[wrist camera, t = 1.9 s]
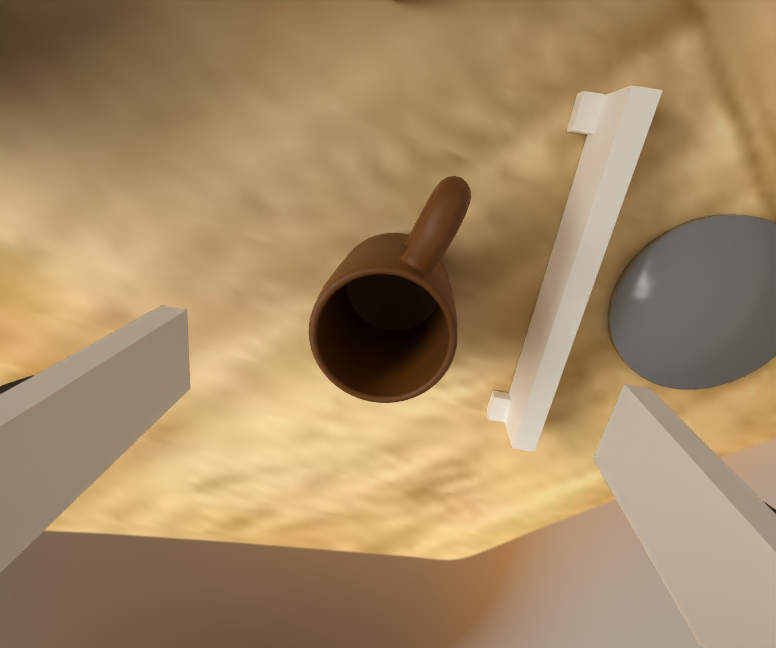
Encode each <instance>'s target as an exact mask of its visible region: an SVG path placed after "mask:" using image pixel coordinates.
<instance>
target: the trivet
mask: <svg viewBox="0 0 776 648" xmlns="http://www.w3.org/2000/svg"><path fill="white" fill-rule="evenodd" d="M608 327H609V334H610V337H611V340H612V343H613V345H614V347H615V349H616V351H617V353H618V354H619V356H620V357H621V358H622V360H623V361H624V362H625V363H626V364H627V365H628V366H629V367H630V368H631V369H632V370H633V371H634V372H636V373H637V374H639V375H640V376H641V377H643V378H645V379H647V380H648V381H650V382H653V383H655V384H658V385H661V386H665V387H669V388H675V389H704V388H710V387H715V386H720V385H723V384H726V383H729V382H732V381H735V380H737V379H739V378H742V377H744V376H746V375H748V374H750V373H752V372H753V371H755V370H757V369H758V368H760V367H761V366H763V365H764V364H766V363H767V362H769V361H770V360H771V359H772V358H774V357H775V356H776V223H773V222H771V221H768V220H765V219H761V218H757V217H752V216H746V215H736V214H720V215H712V216H706V217H701V218H698V219H694V220H691V221H688V222H686V223H683V224H681V225H678V226H676V227H674V228H672V229H670V230H668V231H667V232H665V233H663V234H662V235H660V236H659V237H657V238H656V239H654V240H653V241H652V242H650V243H649V244H648V245H647V246H646V247H644V248H643V249H642V250H641V251H640V252H639V253H638V254H637V255H636V256H635V257H634V258H633V259H632V261H631V262H630V263H629V264H628V266H627V267H626V268H625V270H624V271H623V273H622V275H621V276H620V278H619V280H618V282H617V284H616V286H615V288H614V290H613V293H612V297H611V300H610V304H609V310H608Z"/></svg>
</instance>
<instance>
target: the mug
mask: <svg viewBox="0 0 776 648" xmlns="http://www.w3.org/2000/svg"><path fill="white" fill-rule="evenodd" d="M470 200H471V191H470V188H469V186H468V184H467V182H466V181H464V180H463V179H462V178H460V177H456V176H451V177H447V178H445V179H443V180H442V181H441V182H440V183H439V184H438V185H437V187H436V188H435V189H434V191H433V193H432V194H431V196H430V198H429V200H428V201H427V203H426V205H425V207H424V209H423V211H422V212H421V214H420V216H419V218H418V220H417V222H416V224H415V226H414V228H413V230H412V232H411V234H410V236H408V235H405V234H398V233H387V234H381V235H377V236H374V237H371V238H369V239H367V240H365V241H363V242H362V243H360V244H359V245H358V246H357V247H355V248H354V249H353V250H352V251H351V252H350V253H349V254H348V256H347V257H346V258H345V260H344V261H343V262H342V263H341V264H340V265H339V267H338V268H337V269H336V271H335V272H334V273H333V275H332V276H331V277H330V278H329V280H328V281H327V283H326V284H325V285H324V287H323V289H322V291H321V293H320V295H319V297H318V299H317V301H316V303H315V305H314V308H313V311H312V313H311V317H310V322H309V341H310V345H311V350H312V352H313V355H314V358H315V360H316V362H317V364H318V365H319V367H320V369H321V370H322V371H323V373H324V374H325V375H326V376H327V378H328V379H329V380H330V381H331V382H332V383H334V384H335V385H336V386H337V387H339V388H340V389H341V390H343V391H344V392H346V393H348V394H350V395H352V396H355V397H357V398H360V399H363V400H367V401H372V402H379V403H391V402H399V401H404V400H408V399H411V398H414V397H416V396H418V395H420V394H422V393H424V392H426V391H427V390H429V389H430V388H431V387H433V386H434V385H435V384H436V383H437V382H438V381H439V380H440V379H441V378H442V377H443V376H444V374H445V373H446V372H447V370H448V368H449V367H450V365H451V363H452V360H453V358H454V355H455V351H456V346H457V314H456V309H455V304H454V300H453V295H452V291H451V287H450V283H449V279H448V275H447V272H446V270H445V267H444V265H443V263H442V261H441V258H442V256H443V254H444V253H445V251H446V250H447V248H448V247H449V245H450V243H451V242H452V240H453V238H454V237H455V235H456V233H457V231H458V229H459V227H460V225H461V223H462V221H463V219H464V217H465V215H466V212H467V209H468V207H469V204H470Z"/></svg>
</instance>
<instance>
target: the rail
mask: <svg viewBox="0 0 776 648" xmlns="http://www.w3.org/2000/svg"><path fill="white" fill-rule="evenodd" d="M662 91H663V90H658V89H652V88H645V87H639V86H633V85H632V86H629V87H626V88H623V89H620V90H617V91H614V92H611V93H608V94H601V93H594V92H588V91H582V92H580V93H577V96H576V99H575V103H574V107H573V110H572V114H571V117H570V121H569V124H568V128H567V132H573V133H579V134H585V135H587V137H586V141H585V144H584V147H583V151H582V154H581V157H580V161H579V164H578V167H577V170H576V174H575V177H574V180H573V184H572V187H571V190H570V193H569V197H568V200H567V203H566V207H565V210H564V213H563V216H562V220H561V223H560V226H559V230H558V233H557V236H556V239H555V243H554V246H553V249H552V253H551V256H550V259H549V262H548V266H547V269H546V272H545V276H544V279H543V282H542V285H541V289H540V292H539V295H538V299H537V302H536V305H535V308H534V312H533V315H532V318H531V322H530V325H529V328H528V331H527V335H526V338H525V341H524V345H523V348H522V351H521V355H520V358H519V361H518V364H517V368H516V371H515V374H514V378H513V381H512V384H511V387H510V391H509V393H506V392H500V391H495V390H492V394H491V397H490V401H489V404H488V408H487V411H486V413H487V417H488V420H493V421H499V422H505V425H506V429H507V432H508V435H509V438H510V441H511V444H512V448H514V449H520V450H525V451H531V452H535V449H536V446H537V443H538V440H539V438H540V435H541V432H542V429H543V426H544V423H545V421H546V418H547V415H548V412H549V409H550V407H551V404H552V401H553V398H554V395H555V392H556V390H557V387H558V384H559V381H560V378H561V376H562V373H563V370H564V367H565V364H566V361H567V359H568V356H569V353H570V350H571V347H572V345H573V342H574V339H575V336H576V333H577V330H578V328H579V325H580V322H581V319H582V316H583V314H584V311H585V308H586V305H587V302H588V299H589V297H590V294H591V291H592V288H593V285H594V283H595V280H596V277H597V274H598V271H599V268H600V266H601V263H602V260H603V257H604V254H605V252H606V249H607V246H608V243H609V240H610V237H611V235H612V232H613V229H614V226H615V223H616V221H617V218H618V215H619V212H620V209H621V206H622V204H623V201H624V198H625V195H626V192H627V190H628V187H629V184H630V181H631V178H632V175H633V173H634V170H635V167H636V164H637V161H638V159H639V156H640V153H641V150H642V147H643V144H644V142H645V139H646V136H647V133H648V130H649V128H650V125H651V122H652V119H653V116H654V113H655V111H656V108H657V105H658V102H659V99H660V97H661V94H662Z"/></svg>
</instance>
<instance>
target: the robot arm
mask: <svg viewBox="0 0 776 648" xmlns="http://www.w3.org/2000/svg"><path fill="white" fill-rule="evenodd" d="M189 389H190V371H189V346H188V322H187V310H186V309H180V308H174V307H168V306H160V307H158V308H157V309H155V310H153V311H151V312H149V313H148V314H146V315H144V316H142V317H140V318H138V319H137V320H135V321H133V322H131V323H129V324H127V325H126V326H124V327H122V328H120V329H118V330H117V331H115V332H113V333H111V334H109V335H107V336H106V337H104V338H102V339H100V340H98V341H97V342H95V343H93V344H91V345H89V346H87V347H86V348H84V349H82V350H80V351H78V352H77V353H75V354H73V355H71V356H69V357H67V358H66V359H64V360H62V361H60V362H58V363H57V364H55V365H53V366H51V367H49V368H47V369H46V370H44V371H42V372H40V373H38V374H36V375H32V376H29V377H26V378H23V379H20V380H17V381H14V382H11V383H8V384H5V385H2V386H1V387H0V573H1V571H3V570H4V569H5V568H6V567H7V566H8V565H9V564H10V563H11V562H12V561H13V560H14V559H15V558H16V557H17V556H18V555H19V554H20V553H21V552H22V551H23V550H24V549H25V548H26V547H27V546H28V545H29V544H30V543H31V542H33V541H34V539H36V538H37V537H38V536H39V535H40V534H41V533H42V532H43V531H44V530H45V529H46V528H47V527H48V526H49V525H50V524H51V523H52V522H53V521H54V520H55V519H56V518H57V517H58V516H59V515H60V514H61V513H62V512H63V511H64V510H66V509H67V508H68V507H69V506H70V505H71V504H72V503H73V502H74V501H75V500H76V499H77V498H78V497H79V496H80V495H81V494H82V493H83V492H84V491H85V490H86V489H87V488H88V487H89V486H90V485H91V484H92V483H93V482H94V481H95V480H96V479H97V478H98V477H100V476H101V475H102V474H103V473H104V472H105V471H106V470H107V469H108V468H109V467H110V466H111V465H112V464H113V463H114V462H115V461H116V460H117V459H118V458H119V457H120V456H121V455H122V454H123V453H124V452H125V451H126V450H127V449H128V448H129V447H130V446H131V445H133V444H134V443H135V442H136V441H137V440H138V439H139V438H140V437H141V436H142V435H143V434H144V433H145V432H146V431H147V430H148V429H149V428H150V427H151V426H152V425H153V424H154V423H155V422H156V421H157V420H158V419H159V418H160V417H161V416H162V415H163V414H164V413H165V412H167V411H168V410H169V409H170V408H171V407H172V406H173V405H174V404H175V403H176V402H177V401H178V400H179V399H180V398H181V397H182V396H183V395H184V394H185V393H186V392H187V391H188V390H189ZM593 460H594V461H595V463H596V465H597V467H598V468H599V470H600V472H601V474H602V475H603V477H604V479H605V481H606V482H607V484H608V486H609V488H610V489H611V491H612V493H613V495H614V497H615V498H616V500H617V502H618V504H619V505H620V507H621V509H622V511H623V512H624V514H625V516H626V518H627V519H628V521H629V523H630V525H631V526H632V528H633V530H634V532H635V534H636V535H637V537H638V539H639V541H640V542H641V544H642V546H643V548H644V549H645V551H646V553H647V555H648V556H649V558H650V560H651V561H652V564H653V565H654V567H655V569H656V570H657V572H658V574H659V576H660V578H661V579H662V581H663V583H664V584H665V586H666V588H667V590H668V592H669V593H670V595H671V597H672V599H673V601H674V602H675V604H676V606H677V608H678V609H679V611H680V613H681V615H682V616H683V618H684V620H685V622H686V623H687V625H688V627H689V629H690V630H691V632H692V634H693V636H694V637H695V639H696V641H697V643H698V645H699V646H700V648H776V510H775V509H774V508H772V507H771V506H769V505H768V504H767V503H765V502H764V501H762V500H761V499H760V498H759V497H758V496H757V495H756V494H755V493H754V492H753V491H752V490H751V489H750V488H749V487H748V486H747V485H746V484H745V483H744V482H743V481H742V480H741V479H740V478H739V477H738V476H737V475H736V474H735V473H734V472H733V471H732V470H731V469H730V468H729V467H728V466H727V465H726V464H725V463H724V462H723V461H722V460H721V459H720V458H719V457H718V456H717V455H716V454H715V453H714V452H713V451H712V450H711V449H710V448H709V447H708V446H707V445H706V444H705V443H704V442H703V441H702V440H701V439H700V438H699V437H698V436H697V435H696V434H695V433H694V432H693V431H692V430H691V429H690V428H689V426H688V425H687V424H686V423H685V422H684V421H683V420H682V419H681V418H680V417H679V416H678V415H677V414H676V413H675V412H674V411H673V410H672V409H671V408H670V407H669V406H668V405H667V404H666V403H665V402H664V401H663V400H662V399H661V398H660V397H659V396H658V395H657V394H656V393H655V392H654V391H653V390H652V389H651V388H645V387H639V386H633V385H627V384H624V386H623V389H622V391H621V393H620V396H619V398H618V401H617V403H616V405H615V408H614V410H613V412H612V415H611V417H610V419H609V422H608V424H607V427H606V429H605V431H604V434H603V436H602V438H601V441H600V443H599V446H598V448H597V450H596V453H595V455H594V457H593Z"/></svg>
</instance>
